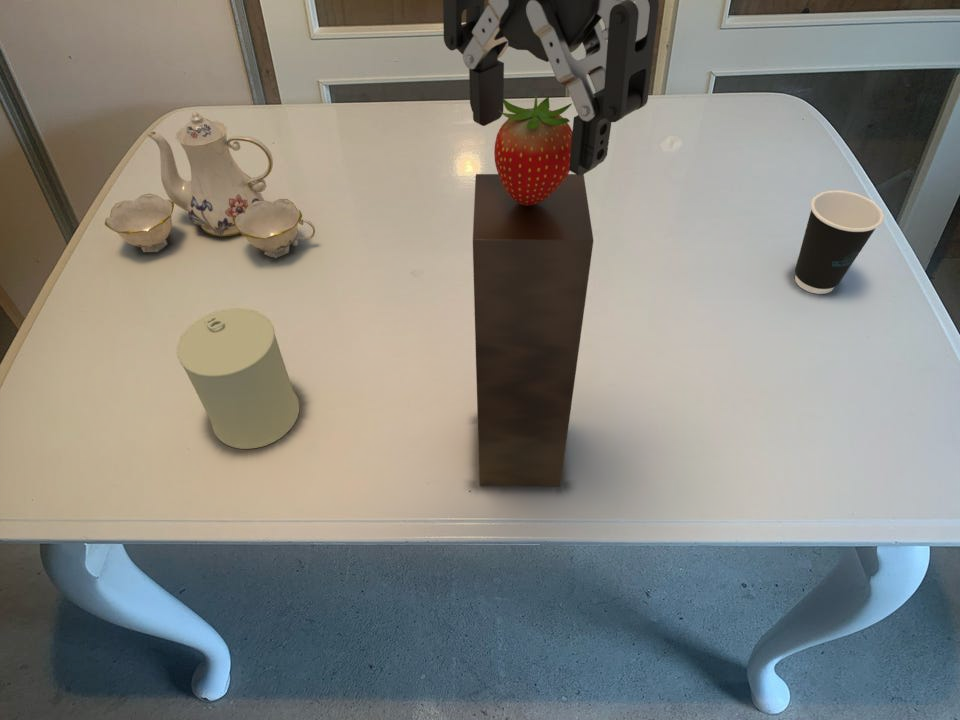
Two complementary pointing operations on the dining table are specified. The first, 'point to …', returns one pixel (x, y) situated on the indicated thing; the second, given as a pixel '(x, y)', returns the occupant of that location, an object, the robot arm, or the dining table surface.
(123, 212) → the chinaware
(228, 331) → the can
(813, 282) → the dixie cup
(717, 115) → the dining table surface
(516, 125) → the fruit
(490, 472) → the plinth
